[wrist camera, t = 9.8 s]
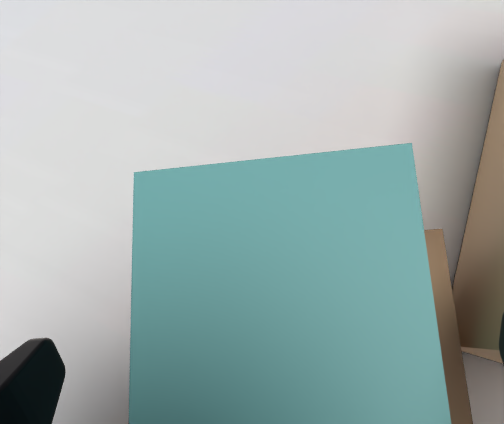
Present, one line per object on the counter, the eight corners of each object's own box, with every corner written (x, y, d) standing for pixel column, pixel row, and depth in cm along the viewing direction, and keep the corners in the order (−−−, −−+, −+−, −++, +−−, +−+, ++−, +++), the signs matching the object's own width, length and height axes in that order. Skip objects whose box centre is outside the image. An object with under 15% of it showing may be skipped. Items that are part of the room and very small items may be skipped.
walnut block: (460, 563, 15) (508, 653, 11) (189, 557, 17) (137, 634, 12) (417, 254, 18) (442, 228, 14) (185, 271, 19) (141, 253, 15)
